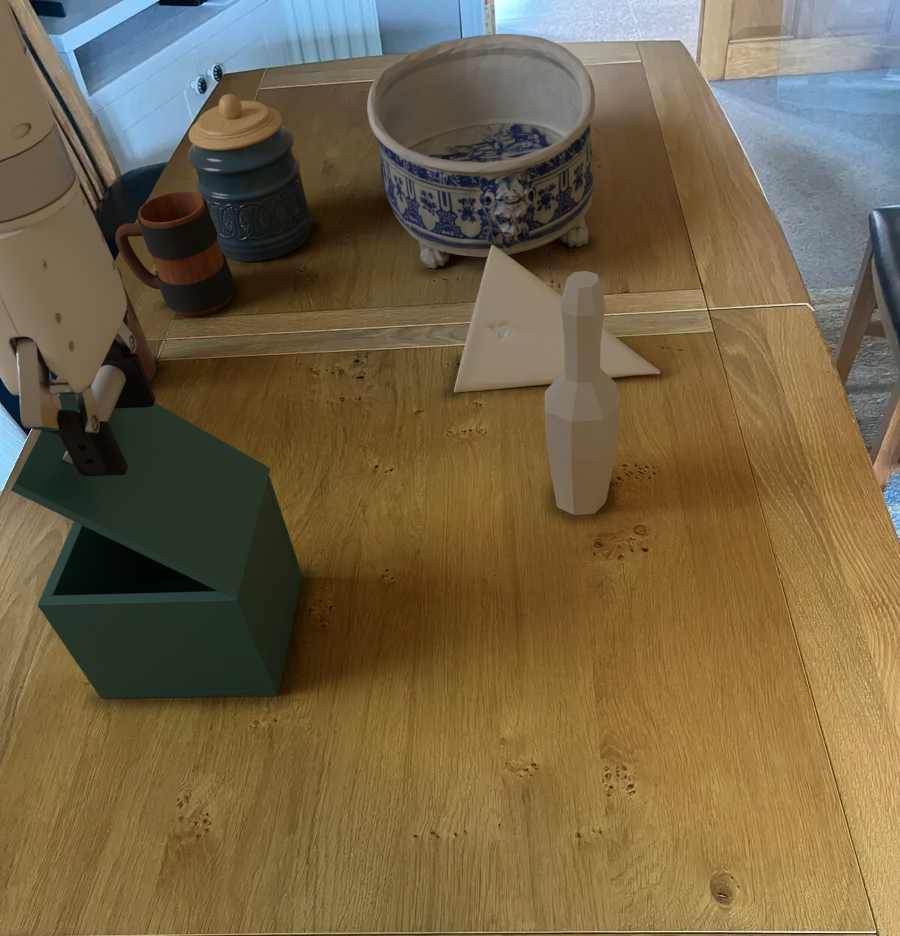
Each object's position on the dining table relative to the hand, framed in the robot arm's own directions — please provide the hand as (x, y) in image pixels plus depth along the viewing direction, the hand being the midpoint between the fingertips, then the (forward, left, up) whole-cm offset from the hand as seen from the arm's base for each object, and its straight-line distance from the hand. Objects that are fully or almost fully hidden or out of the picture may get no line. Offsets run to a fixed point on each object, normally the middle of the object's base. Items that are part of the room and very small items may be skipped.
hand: (119, 435), depth 63 cm
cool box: (-1, 0, -22) cm, 22 cm away
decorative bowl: (+21, +69, -22) cm, 75 cm away
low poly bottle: (+31, +15, -22) cm, 41 cm away
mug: (-15, +52, -22) cm, 58 cm away
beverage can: (-18, +37, -22) cm, 46 cm away
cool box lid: (+1, 0, -4) cm, 4 cm away
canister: (-8, +66, -22) cm, 70 cm away
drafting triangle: (+29, +36, -22) cm, 51 cm away
